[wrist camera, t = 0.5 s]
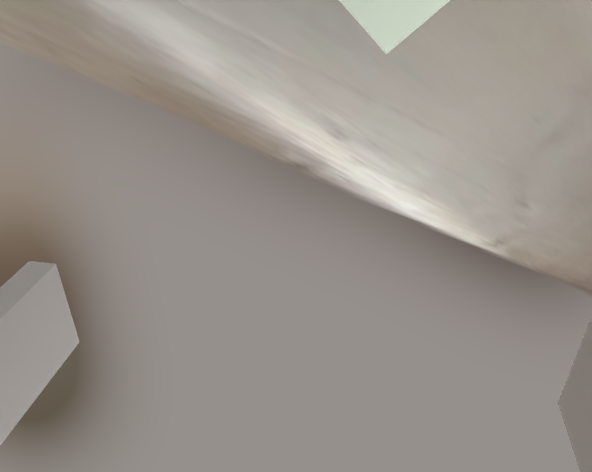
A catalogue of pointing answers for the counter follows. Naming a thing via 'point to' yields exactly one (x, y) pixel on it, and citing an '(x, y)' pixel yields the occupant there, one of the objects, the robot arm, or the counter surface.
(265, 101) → the counter surface
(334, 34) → the counter surface
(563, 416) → the robot arm
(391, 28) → the sage block
